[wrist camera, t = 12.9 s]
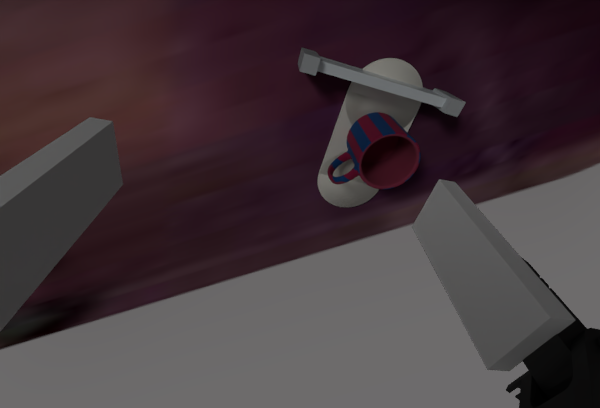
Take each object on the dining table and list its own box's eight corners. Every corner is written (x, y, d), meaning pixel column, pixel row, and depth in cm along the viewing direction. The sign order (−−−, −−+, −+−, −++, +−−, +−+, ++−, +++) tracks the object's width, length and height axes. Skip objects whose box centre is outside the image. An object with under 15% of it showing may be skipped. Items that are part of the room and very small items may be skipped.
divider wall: (301, 47, 31) (304, 53, 27) (446, 91, 35) (465, 102, 31) (297, 63, 32) (299, 71, 28) (439, 105, 35) (457, 116, 32)
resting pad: (362, 47, 31) (363, 47, 31) (436, 71, 33) (437, 71, 33) (309, 199, 42) (309, 200, 42) (367, 211, 44) (367, 212, 44)
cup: (403, 152, 38) (424, 178, 33) (329, 177, 40) (337, 205, 34) (394, 103, 35) (416, 123, 29) (314, 132, 36) (320, 156, 31)
